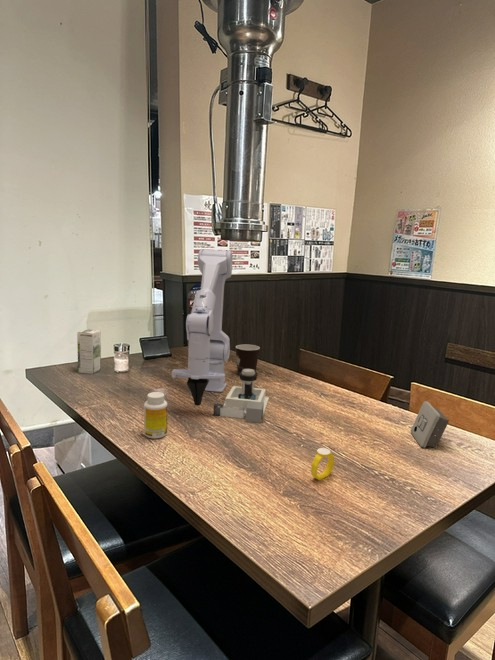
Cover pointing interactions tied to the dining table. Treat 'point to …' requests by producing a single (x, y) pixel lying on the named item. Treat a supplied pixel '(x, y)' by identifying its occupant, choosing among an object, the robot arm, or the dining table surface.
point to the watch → (320, 454)
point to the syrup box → (89, 351)
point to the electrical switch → (429, 426)
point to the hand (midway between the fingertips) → (197, 404)
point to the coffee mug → (246, 357)
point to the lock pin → (228, 411)
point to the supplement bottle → (155, 415)
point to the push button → (248, 384)
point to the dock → (241, 402)
